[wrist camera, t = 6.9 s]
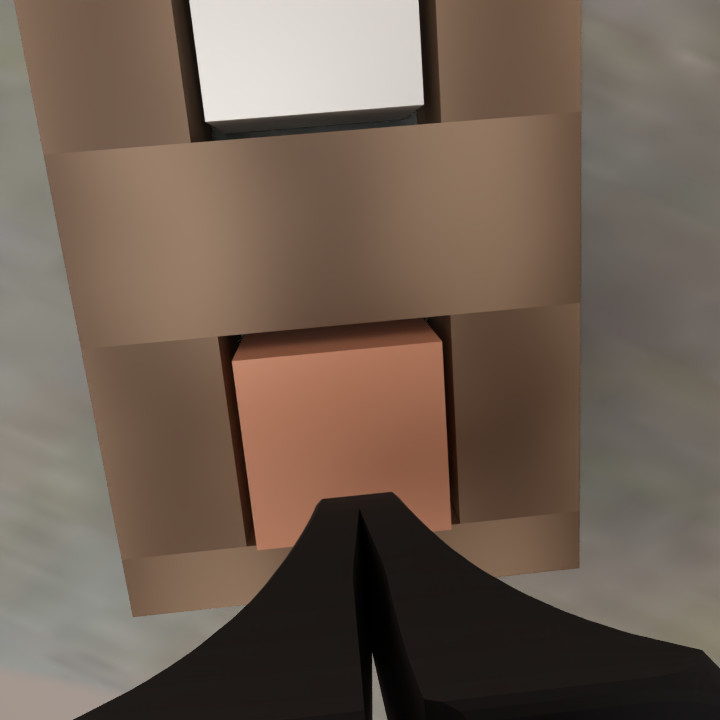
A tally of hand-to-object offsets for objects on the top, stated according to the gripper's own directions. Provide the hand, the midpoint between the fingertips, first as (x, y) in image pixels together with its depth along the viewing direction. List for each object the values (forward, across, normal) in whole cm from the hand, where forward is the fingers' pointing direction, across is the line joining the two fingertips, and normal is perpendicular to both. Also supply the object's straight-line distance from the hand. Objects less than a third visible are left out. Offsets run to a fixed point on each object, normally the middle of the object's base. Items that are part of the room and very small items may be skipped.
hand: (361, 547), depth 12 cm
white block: (+9, 0, -10) cm, 13 cm away
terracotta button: (+8, 0, 0) cm, 8 cm away
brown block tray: (+9, 0, -5) cm, 10 cm away
